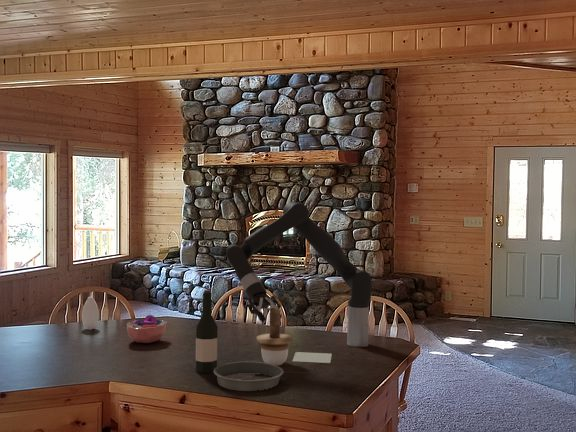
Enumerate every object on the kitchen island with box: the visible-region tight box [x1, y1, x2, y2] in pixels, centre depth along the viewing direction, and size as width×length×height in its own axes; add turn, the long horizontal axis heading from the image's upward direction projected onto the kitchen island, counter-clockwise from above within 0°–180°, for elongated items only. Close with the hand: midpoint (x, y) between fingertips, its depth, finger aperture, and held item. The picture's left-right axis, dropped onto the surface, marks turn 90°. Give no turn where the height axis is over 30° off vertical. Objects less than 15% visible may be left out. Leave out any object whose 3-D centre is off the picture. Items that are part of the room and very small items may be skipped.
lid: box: [256, 308, 294, 345], centre depth 259 cm, size 14×14×12 cm
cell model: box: [126, 314, 168, 344], centre depth 292 cm, size 17×20×11 cm
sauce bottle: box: [81, 291, 100, 331], centre depth 316 cm, size 8×8×18 cm
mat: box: [291, 351, 333, 364], centre depth 270 cm, size 15×15×1 cm
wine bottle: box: [195, 289, 219, 374], centre depth 248 cm, size 8×8×30 cm
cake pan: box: [213, 361, 284, 392], centre depth 235 cm, size 25×25×4 cm
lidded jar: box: [260, 343, 289, 366], centre depth 259 cm, size 11×11×9 cm
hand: (272, 319), depth 260 cm, fingers open, 8 cm apart
